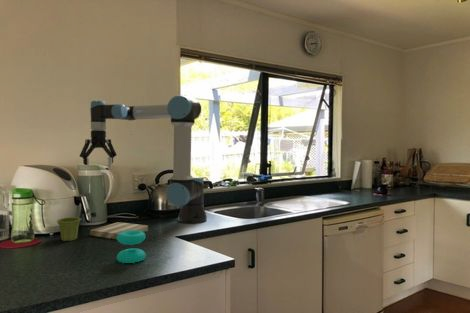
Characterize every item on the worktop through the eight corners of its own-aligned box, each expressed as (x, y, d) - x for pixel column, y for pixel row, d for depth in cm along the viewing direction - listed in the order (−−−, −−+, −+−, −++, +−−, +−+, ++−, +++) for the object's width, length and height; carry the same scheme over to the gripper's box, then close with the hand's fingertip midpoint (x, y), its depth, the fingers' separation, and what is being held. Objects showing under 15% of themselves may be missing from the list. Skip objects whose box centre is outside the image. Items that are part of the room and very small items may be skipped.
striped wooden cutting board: (147, 231, 180) (147, 225, 180) (121, 241, 164) (121, 234, 164) (118, 228, 188) (118, 222, 188) (90, 236, 171) (90, 230, 171)
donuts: (129, 237, 129) (110, 233, 135) (130, 266, 130) (110, 261, 135) (151, 231, 137) (132, 228, 143) (151, 259, 138) (132, 254, 143)
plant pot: (64, 243, 158) (64, 222, 157) (53, 239, 163) (52, 219, 163) (85, 238, 165) (85, 219, 165) (73, 235, 171) (73, 216, 171)
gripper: (114, 130, 214) (115, 168, 215) (72, 129, 195) (72, 171, 196) (122, 130, 210) (123, 169, 211) (79, 129, 190) (80, 171, 191)
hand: (98, 170), depth 203 cm, fingers open, 13 cm apart
